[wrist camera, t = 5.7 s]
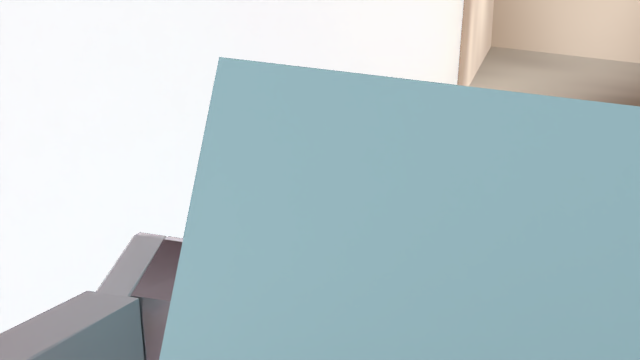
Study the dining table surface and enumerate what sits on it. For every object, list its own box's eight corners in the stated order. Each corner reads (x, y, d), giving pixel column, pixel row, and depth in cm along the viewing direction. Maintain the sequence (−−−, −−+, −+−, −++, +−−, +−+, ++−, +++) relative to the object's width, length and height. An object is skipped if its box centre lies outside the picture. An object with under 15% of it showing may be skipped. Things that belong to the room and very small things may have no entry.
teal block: (461, 258, 17) (699, 113, 6) (447, 448, 15) (722, 694, 5) (287, 236, 17) (219, 57, 6) (259, 420, 15) (112, 593, 5)
